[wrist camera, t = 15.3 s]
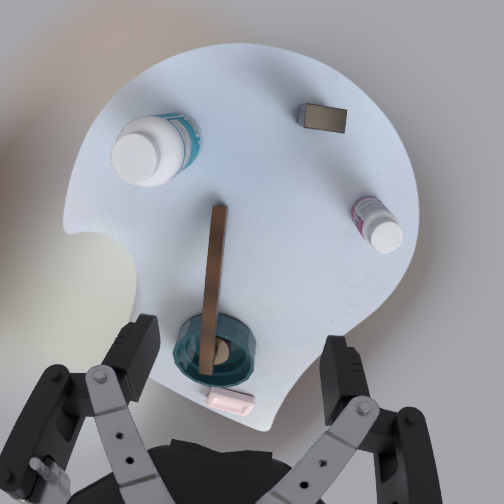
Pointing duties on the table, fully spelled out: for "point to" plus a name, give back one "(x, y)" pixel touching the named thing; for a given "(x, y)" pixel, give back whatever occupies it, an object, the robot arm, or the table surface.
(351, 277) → the table surface
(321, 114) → the dark grey rubber eraser
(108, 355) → the robot arm
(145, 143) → the pill bottle
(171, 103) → the table surface
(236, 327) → the bowl
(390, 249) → the pill bottle
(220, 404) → the soap bar
